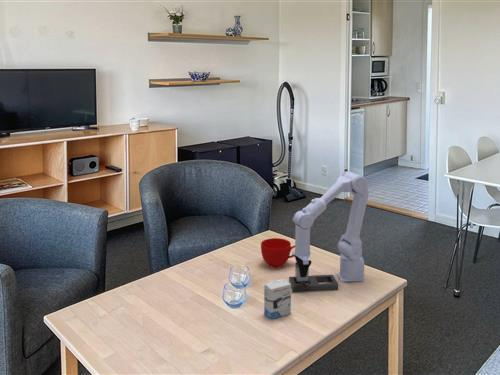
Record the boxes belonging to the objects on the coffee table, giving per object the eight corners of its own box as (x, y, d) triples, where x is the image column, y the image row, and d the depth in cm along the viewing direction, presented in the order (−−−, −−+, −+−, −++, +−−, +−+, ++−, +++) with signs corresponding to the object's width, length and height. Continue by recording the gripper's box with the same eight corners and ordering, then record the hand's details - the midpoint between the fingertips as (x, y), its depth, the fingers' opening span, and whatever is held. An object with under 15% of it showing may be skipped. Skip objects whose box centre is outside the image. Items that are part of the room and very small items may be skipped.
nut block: (306, 275, 201) (306, 261, 199) (308, 280, 197) (308, 266, 195) (295, 276, 201) (295, 262, 199) (297, 281, 196) (297, 266, 195)
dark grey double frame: (332, 280, 205) (332, 274, 204) (338, 290, 196) (338, 284, 196) (288, 282, 204) (289, 276, 203) (292, 292, 195) (292, 286, 194)
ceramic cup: (300, 270, 214) (301, 249, 211) (261, 271, 214) (260, 249, 212) (298, 258, 227) (298, 237, 224) (260, 258, 227) (260, 238, 224)
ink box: (270, 319, 175) (270, 289, 172) (263, 313, 180) (263, 283, 177) (291, 313, 179) (291, 283, 176) (284, 307, 183) (284, 278, 180)
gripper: (289, 235, 201) (289, 266, 205) (295, 249, 187) (295, 282, 191) (306, 234, 202) (306, 266, 205) (314, 248, 188) (313, 281, 191)
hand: (302, 274), depth 198 cm, fingers closed on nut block, 4 cm apart
